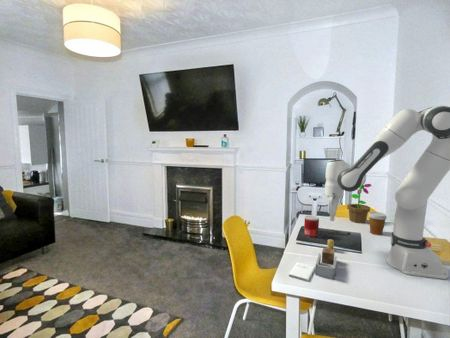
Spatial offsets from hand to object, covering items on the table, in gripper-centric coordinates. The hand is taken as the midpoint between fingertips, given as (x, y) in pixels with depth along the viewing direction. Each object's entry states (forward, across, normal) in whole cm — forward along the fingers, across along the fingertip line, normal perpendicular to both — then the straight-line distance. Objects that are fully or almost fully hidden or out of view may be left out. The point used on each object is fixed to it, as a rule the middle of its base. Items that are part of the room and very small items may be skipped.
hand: (332, 217), depth 134 cm
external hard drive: (+18, -30, +10) cm, 36 cm away
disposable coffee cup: (+18, +37, -23) cm, 47 cm away
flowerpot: (+17, +57, -13) cm, 61 cm away
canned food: (+17, +16, +12) cm, 26 cm away
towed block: (+17, -8, 0) cm, 19 cm away
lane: (+17, -23, +1) cm, 29 cm away
